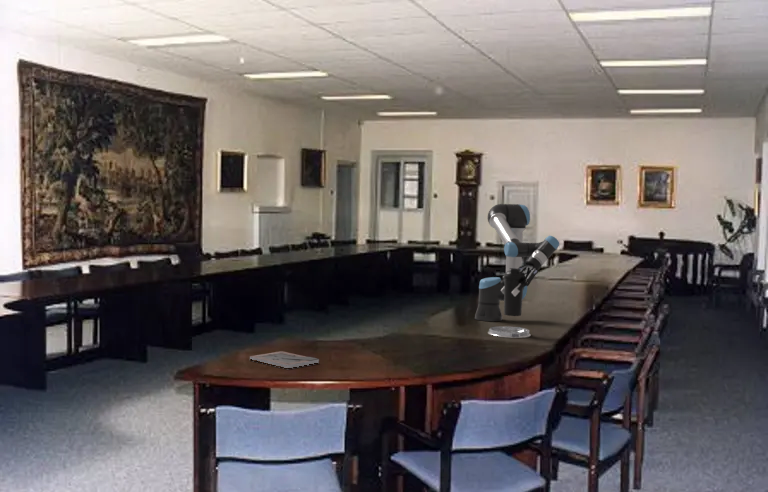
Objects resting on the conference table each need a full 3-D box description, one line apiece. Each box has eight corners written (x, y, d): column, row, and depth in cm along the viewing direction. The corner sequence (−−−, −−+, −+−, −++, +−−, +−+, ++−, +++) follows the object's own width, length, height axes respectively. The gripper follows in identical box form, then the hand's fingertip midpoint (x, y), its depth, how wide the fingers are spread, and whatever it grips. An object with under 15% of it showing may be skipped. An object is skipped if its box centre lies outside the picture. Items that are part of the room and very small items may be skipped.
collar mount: (482, 330, 402) (482, 325, 402) (522, 330, 405) (522, 326, 405) (495, 337, 381) (495, 332, 381) (536, 338, 385) (536, 332, 384)
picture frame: (318, 364, 309) (281, 356, 323) (318, 358, 309) (281, 350, 323) (287, 370, 296) (249, 362, 310) (287, 364, 296) (249, 355, 310)
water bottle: (522, 313, 398) (524, 268, 396) (523, 316, 388) (525, 270, 386) (501, 312, 399) (503, 267, 397) (502, 315, 389) (504, 269, 387)
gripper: (519, 254, 406) (491, 285, 400) (544, 257, 386) (515, 290, 380) (527, 264, 408) (500, 296, 402) (553, 268, 388) (524, 301, 383)
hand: (507, 293), depth 391 cm, fingers closed on water bottle, 9 cm apart
